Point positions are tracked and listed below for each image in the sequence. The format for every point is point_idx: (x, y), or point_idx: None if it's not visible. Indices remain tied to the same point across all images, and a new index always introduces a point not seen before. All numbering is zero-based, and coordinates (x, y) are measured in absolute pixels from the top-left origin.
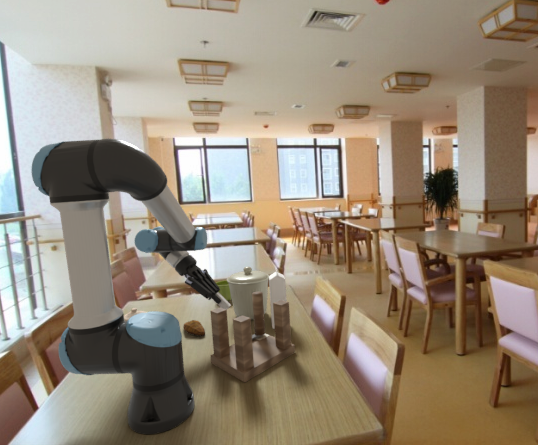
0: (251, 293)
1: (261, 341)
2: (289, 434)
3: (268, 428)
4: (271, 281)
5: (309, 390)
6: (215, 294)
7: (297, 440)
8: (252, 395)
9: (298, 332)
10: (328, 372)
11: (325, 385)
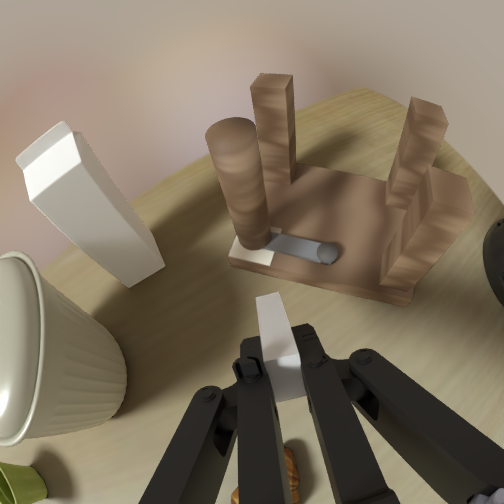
0: (69, 313)
1: (284, 222)
2: None
3: None
4: (84, 161)
5: (358, 127)
6: (300, 363)
7: None
8: None
9: (175, 203)
10: (305, 121)
11: (336, 117)
